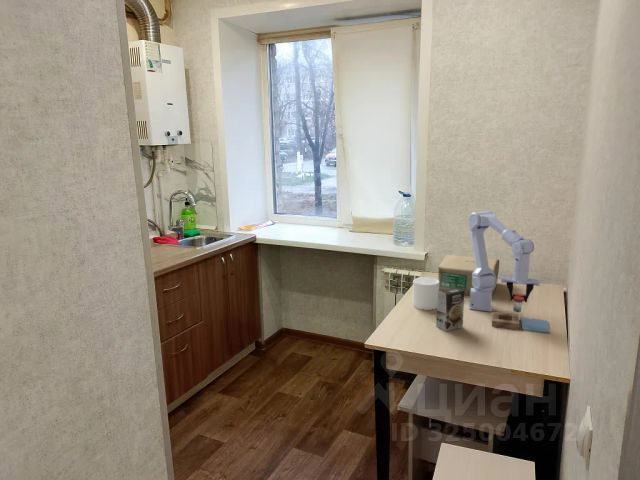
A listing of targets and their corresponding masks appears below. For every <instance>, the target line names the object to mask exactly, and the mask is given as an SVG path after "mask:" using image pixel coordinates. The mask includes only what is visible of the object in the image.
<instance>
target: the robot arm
mask: <svg viewBox="0 0 640 480" xmlns="http://www.w3.org/2000/svg"><path fill="white" fill-rule="evenodd" d="M467 219H468V226H469V233H470V238H471V245H472V252H473V257H474V258H475V264H476V270H475V271H474V272H473V273H472V285H473V287H474V288H471V292H470V295H469V303H468V304H469V309H470V310H475V311H483V312H484V311H485V312H493V311H492V310H493V304H492V301H493V300H492V299H493V296H492V290H493V289H494V287H495V288H496V287H497V284H498V279H496V277H495V275H494V271H493V270H492V269H490V268H489V266H488V260H487V258H488V254H487V247H486V242H485V237H484V233H485V231H486V230H488V229H489V228H491V229H493V230H495V231H496V233H499V235H501V239H502V241H503V242H505V243H506V244H507V245H509V246H510V247H511V250H512V254H513V270H512V271H513V272H512V276H501V277H500V283H501V284H504V283H505V284H506V288H507V291H508V293H509V297H510V302H512V301H513V298H512V296H513V293H514V292H513V290H514V285H515V284H516V285H517V284H519V285H525V294H524V295H525V301H524V302H525V303H527V302H528V299H529V297H530V294H531V293H532V292H533V289H534V288H535V286H537V287H540V284H541V280H539V279H538V280H537V279H533V278H529V272H530V270H529V269H530V260H531V258H530V257H531V253H533V252H534V251H535V244H534V242H533V241H532V240H531V239H530V238H525V237H523V236H522V235H520V234H519V232H516V229H514V228H507V227H506V225H505V224H503V222H502V221H500V220H499V218H497V215H496V213H494V212H493V211H492V210H486V211H479V212H475V211H474V212H471V213H470V215H469V217H468V218H467ZM482 274H486V275H482Z"/></svg>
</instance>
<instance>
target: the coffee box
mask: <svg viewBox="0 0 640 480" xmlns="http://www.w3.org/2000/svg"><path fill="white" fill-rule="evenodd" d="M464 293H465V291H464V290H462V289H459V288H456V287H450V288H446V289H441V290H438V302H437V308H436V322H435V326H436V327H437V328H439V329H441V330H442V331H444V332H450V331H453V330H456V329H461V328H463V324H464V323H463V322H464V307H465V306H464V305H465V294H464Z"/></svg>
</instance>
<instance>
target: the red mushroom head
mask: <svg viewBox="0 0 640 480" xmlns="http://www.w3.org/2000/svg"><path fill="white" fill-rule="evenodd" d="M525 295H526V294H524V293H522V292H513V293H512V298H513V299H512V301H513V312H516V313H521V312H522V309H523V308H522V307H523V302H525Z"/></svg>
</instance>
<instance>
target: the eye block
mask: <svg viewBox="0 0 640 480" xmlns="http://www.w3.org/2000/svg"><path fill="white" fill-rule="evenodd" d="M519 325H520V317H519V314H516V313H508V312H500V311H499V312H498V311H492V318H491V327H495V328H502V329H503V328H504V329H510V330H519V329H520V326H519Z"/></svg>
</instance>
